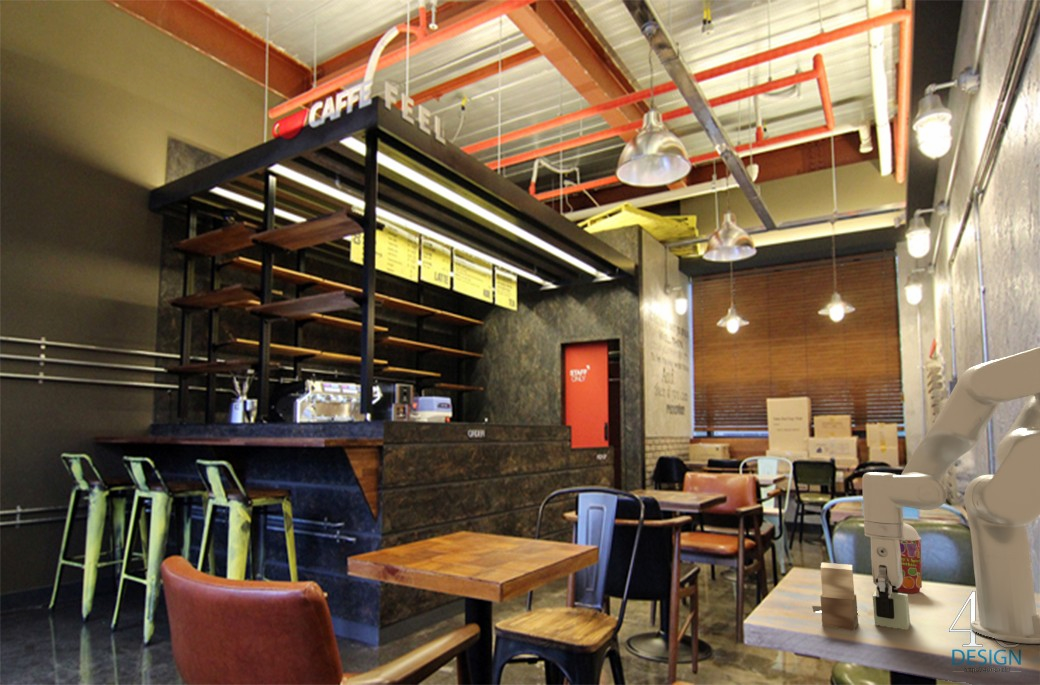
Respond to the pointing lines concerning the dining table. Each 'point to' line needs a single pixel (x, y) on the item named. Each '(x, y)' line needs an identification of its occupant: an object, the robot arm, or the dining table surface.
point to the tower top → (837, 581)
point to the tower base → (839, 613)
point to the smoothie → (910, 561)
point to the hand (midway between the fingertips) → (888, 612)
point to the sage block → (895, 612)
